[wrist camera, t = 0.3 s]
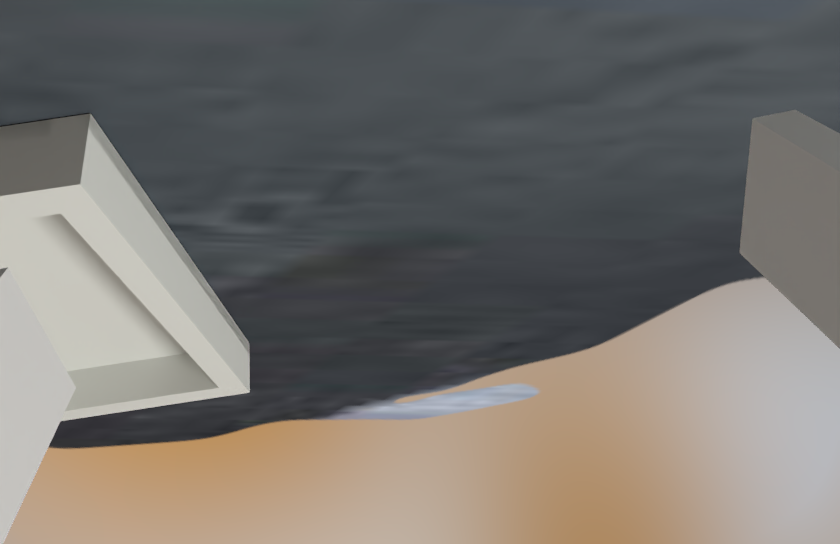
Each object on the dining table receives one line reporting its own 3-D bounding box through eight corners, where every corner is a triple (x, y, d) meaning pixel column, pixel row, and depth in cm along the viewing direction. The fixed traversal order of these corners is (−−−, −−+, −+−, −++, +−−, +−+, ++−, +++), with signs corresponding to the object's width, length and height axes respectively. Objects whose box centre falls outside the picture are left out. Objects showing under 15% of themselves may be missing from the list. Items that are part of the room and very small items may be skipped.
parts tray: (-343, 177, 27) (-384, 253, 25) (90, 113, 27) (80, 184, 25) (-4, 381, 46) (-14, 432, 44) (249, 343, 46) (249, 392, 44)
